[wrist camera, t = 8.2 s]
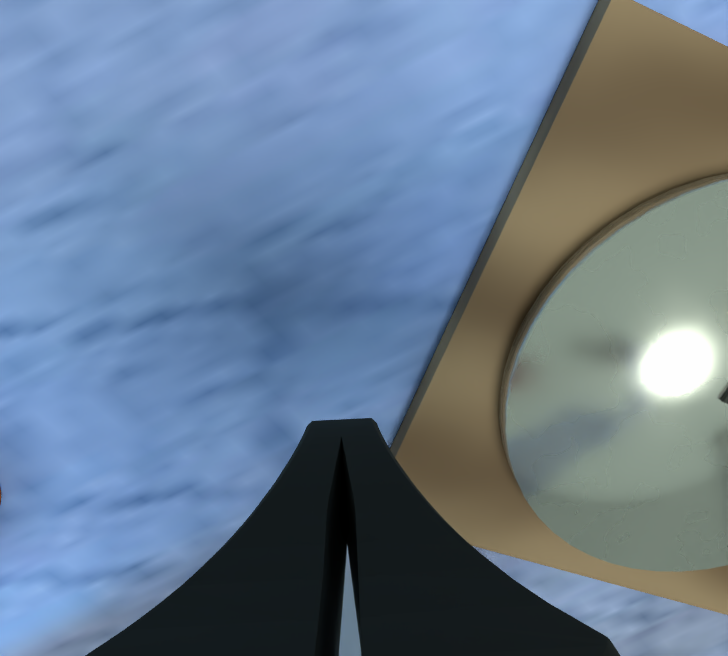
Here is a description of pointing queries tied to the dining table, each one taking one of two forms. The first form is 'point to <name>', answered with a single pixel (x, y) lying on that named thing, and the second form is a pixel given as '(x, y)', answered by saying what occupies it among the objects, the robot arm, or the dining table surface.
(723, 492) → the capstan dial
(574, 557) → the dial base
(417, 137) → the dining table surface
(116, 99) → the dining table surface
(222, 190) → the dining table surface
